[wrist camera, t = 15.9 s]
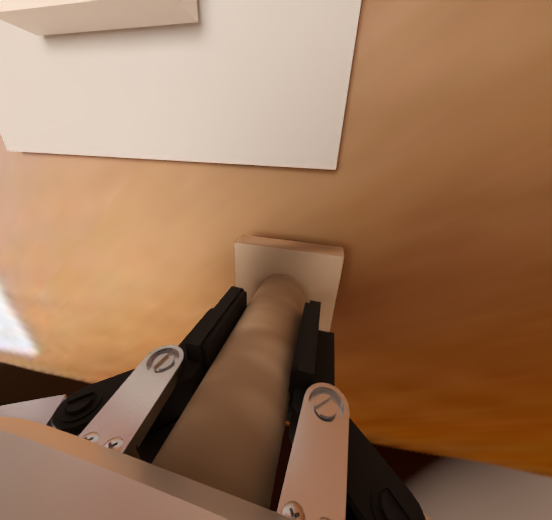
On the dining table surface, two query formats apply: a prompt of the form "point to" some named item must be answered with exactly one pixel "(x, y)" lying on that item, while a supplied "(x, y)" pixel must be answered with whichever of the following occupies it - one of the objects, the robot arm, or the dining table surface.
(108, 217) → the dining table surface
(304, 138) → the mat
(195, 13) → the tile
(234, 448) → the pusher
